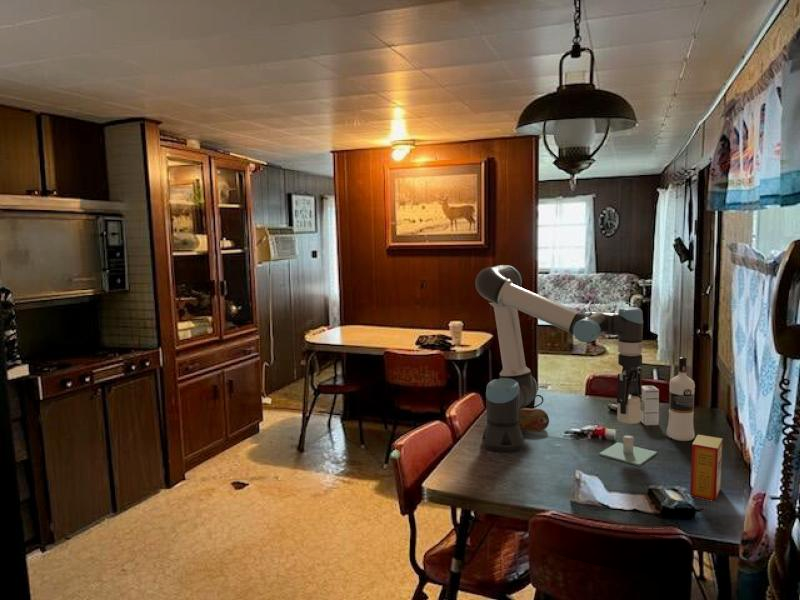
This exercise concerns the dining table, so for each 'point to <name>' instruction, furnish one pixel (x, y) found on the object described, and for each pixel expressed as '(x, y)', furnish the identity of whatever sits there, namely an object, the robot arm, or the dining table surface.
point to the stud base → (628, 458)
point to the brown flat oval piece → (533, 419)
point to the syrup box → (649, 405)
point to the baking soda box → (706, 467)
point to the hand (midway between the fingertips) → (629, 419)
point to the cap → (631, 409)
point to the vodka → (681, 405)
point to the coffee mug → (531, 405)
